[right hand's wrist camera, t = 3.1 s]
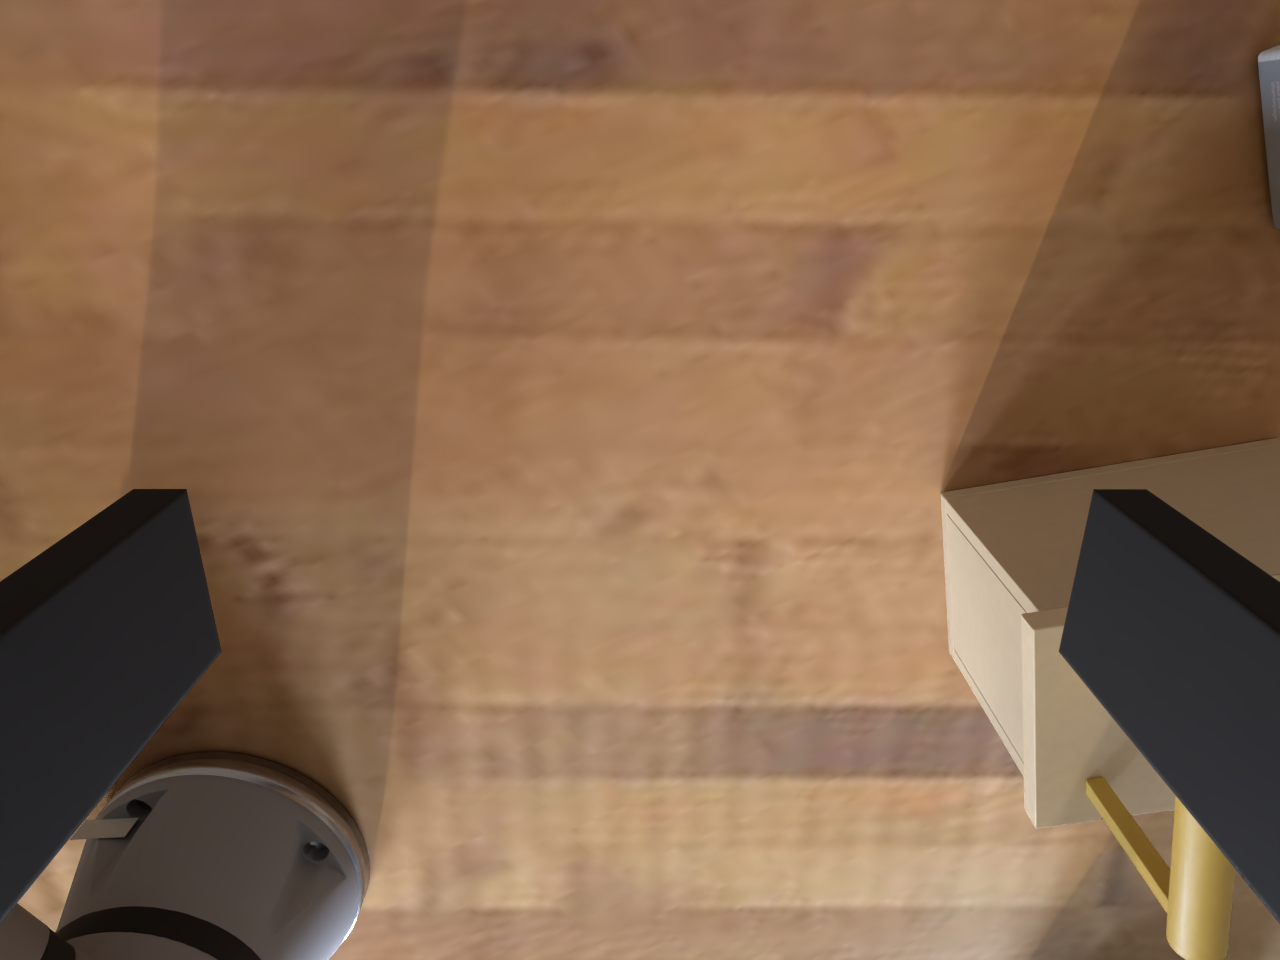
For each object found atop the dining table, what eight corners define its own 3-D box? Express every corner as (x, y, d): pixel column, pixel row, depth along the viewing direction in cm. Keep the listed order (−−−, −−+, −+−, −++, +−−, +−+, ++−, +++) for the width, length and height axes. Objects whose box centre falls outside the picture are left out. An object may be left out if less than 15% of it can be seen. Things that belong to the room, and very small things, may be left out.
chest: (948, 651, 44) (1039, 805, 34) (940, 492, 41) (1038, 609, 31) (1259, 605, 43) (1450, 749, 33) (1277, 437, 40) (1494, 540, 30)
